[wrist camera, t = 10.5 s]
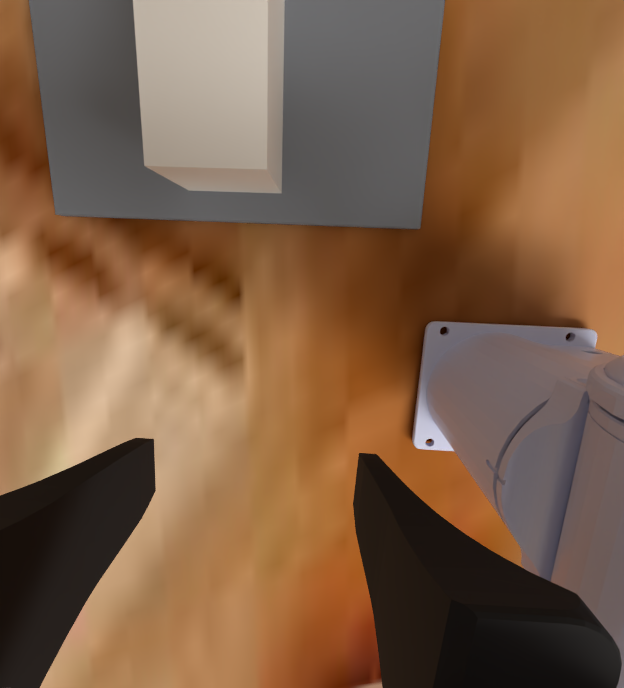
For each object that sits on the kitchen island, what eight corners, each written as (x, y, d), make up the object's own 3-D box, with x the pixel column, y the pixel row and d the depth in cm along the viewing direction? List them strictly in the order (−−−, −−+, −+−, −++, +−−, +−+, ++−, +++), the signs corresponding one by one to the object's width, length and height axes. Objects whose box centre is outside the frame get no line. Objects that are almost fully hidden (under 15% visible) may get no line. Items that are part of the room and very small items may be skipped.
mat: (445, -39, 16) (450, -51, 15) (417, 229, 18) (420, 228, 18) (32, -44, 16) (22, -56, 16) (63, 215, 19) (55, 214, 19)
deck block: (281, 193, 18) (266, 169, 13) (188, 190, 18) (144, 166, 14) (285, -13, 16) (268, -120, 11) (180, -14, 16) (124, -120, 12)
